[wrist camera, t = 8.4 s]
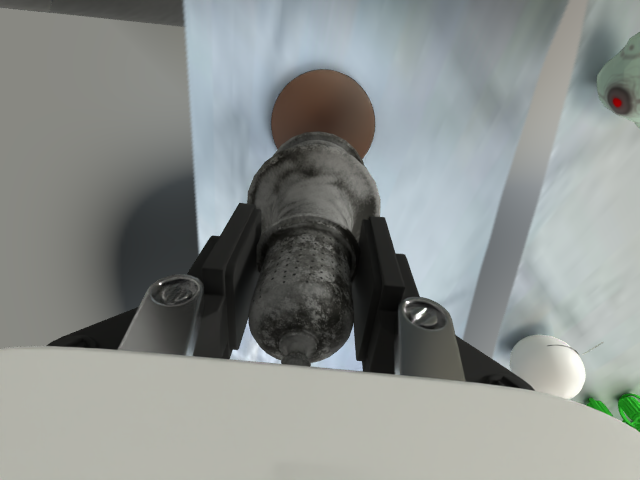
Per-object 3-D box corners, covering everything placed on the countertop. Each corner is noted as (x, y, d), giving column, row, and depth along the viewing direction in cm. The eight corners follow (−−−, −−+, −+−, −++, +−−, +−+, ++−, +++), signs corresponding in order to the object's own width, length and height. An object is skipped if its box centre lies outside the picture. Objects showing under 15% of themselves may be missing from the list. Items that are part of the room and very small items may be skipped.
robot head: (635, 110, 28) (715, 128, 22) (582, 136, 29) (645, 160, 23) (622, 12, 24) (713, 2, 19) (563, 45, 26) (631, 46, 20)
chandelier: (529, 440, 53) (554, 490, 47) (580, 380, 45) (617, 432, 39) (618, 450, 53) (654, 501, 48) (684, 393, 46) (736, 446, 40)
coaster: (253, 138, 30) (252, 139, 29) (309, 43, 26) (309, 43, 26) (333, 193, 32) (333, 195, 32) (395, 114, 29) (397, 115, 28)
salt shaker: (240, 158, 17) (99, 332, 7) (343, 102, 16) (363, 220, 5) (295, 245, 20) (255, 467, 9) (389, 205, 18) (462, 417, 8)
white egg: (510, 369, 45) (539, 423, 38) (490, 336, 42) (518, 388, 35) (590, 341, 41) (637, 395, 35) (575, 303, 38) (623, 354, 32)
